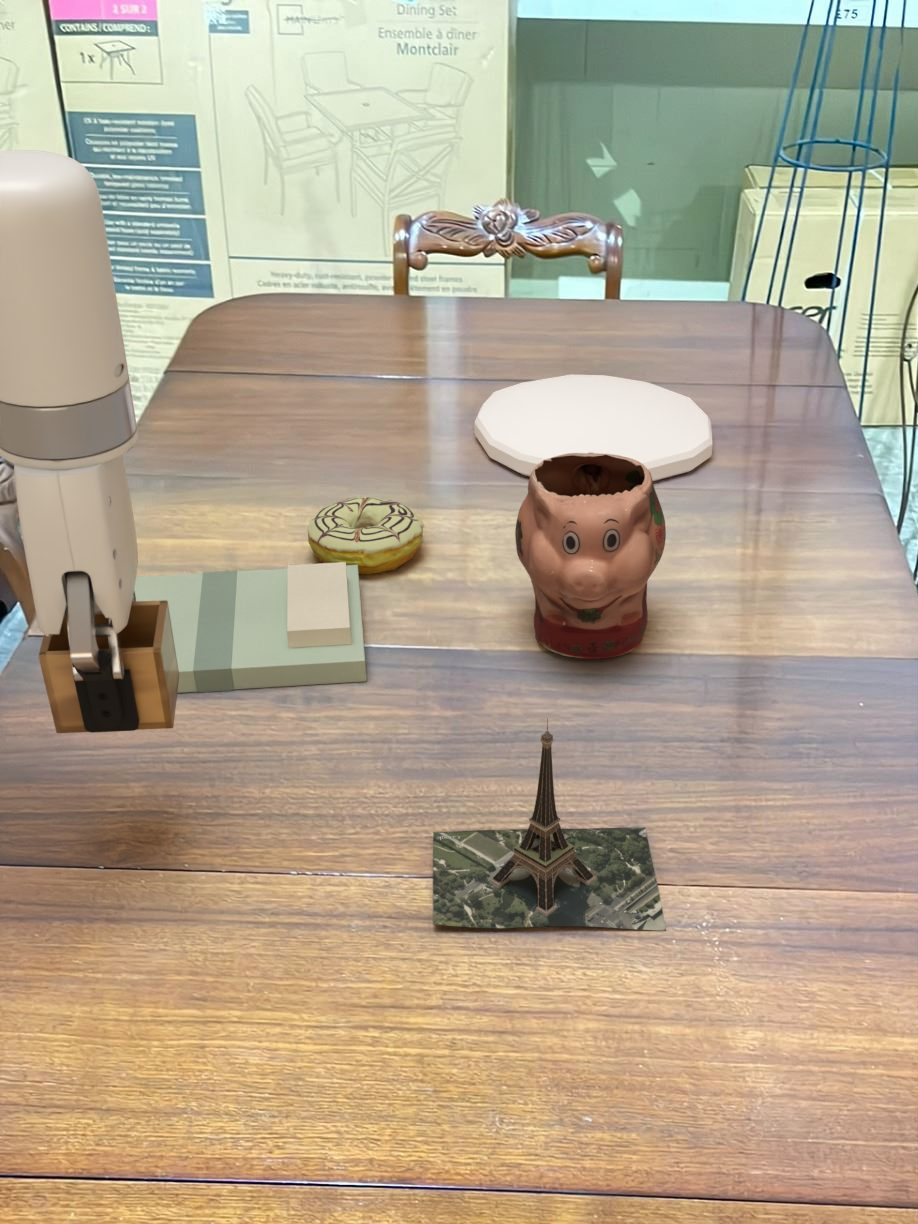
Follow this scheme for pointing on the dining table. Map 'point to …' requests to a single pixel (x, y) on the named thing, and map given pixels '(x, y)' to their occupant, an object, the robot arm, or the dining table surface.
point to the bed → (263, 626)
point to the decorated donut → (366, 534)
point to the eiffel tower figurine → (545, 872)
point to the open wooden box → (142, 653)
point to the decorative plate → (594, 423)
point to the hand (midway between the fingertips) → (117, 695)
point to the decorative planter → (590, 551)
